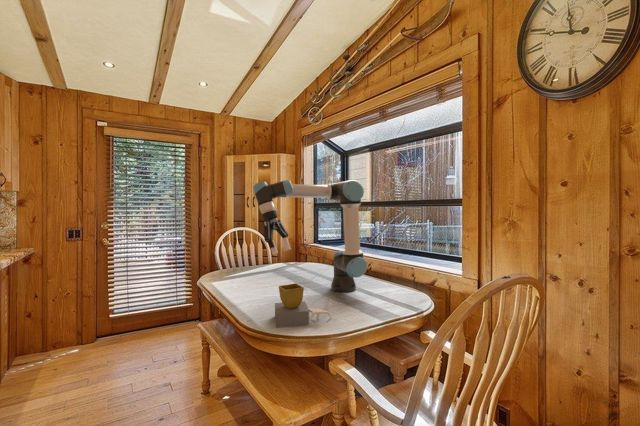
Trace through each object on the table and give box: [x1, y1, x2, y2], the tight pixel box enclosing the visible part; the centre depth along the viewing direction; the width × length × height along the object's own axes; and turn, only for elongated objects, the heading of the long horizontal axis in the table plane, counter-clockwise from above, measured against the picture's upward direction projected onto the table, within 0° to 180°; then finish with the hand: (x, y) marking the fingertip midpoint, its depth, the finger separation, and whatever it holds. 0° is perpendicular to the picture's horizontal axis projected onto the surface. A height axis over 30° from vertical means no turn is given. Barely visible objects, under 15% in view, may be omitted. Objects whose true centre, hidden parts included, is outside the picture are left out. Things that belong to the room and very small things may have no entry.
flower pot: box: [278, 283, 304, 309], centre depth 138 cm, size 9×9×9 cm
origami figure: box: [308, 308, 333, 325], centre depth 135 cm, size 12×8×5 cm
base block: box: [274, 300, 310, 328], centre depth 137 cm, size 14×14×6 cm
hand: (282, 251), depth 156 cm, fingers open, 13 cm apart
